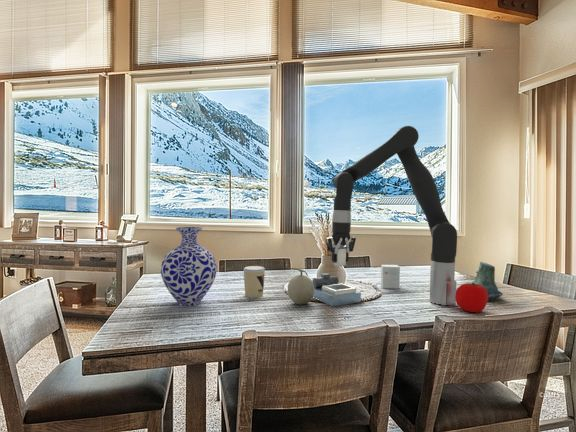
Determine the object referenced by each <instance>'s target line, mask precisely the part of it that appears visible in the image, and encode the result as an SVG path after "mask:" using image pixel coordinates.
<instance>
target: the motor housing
mask: <svg viewBox="0 0 576 432" xmlns="http://www.w3.org/2000/svg"><path fill="white" fill-rule="evenodd" d="M311 281H312V283H313V286H314V294H313V297H315V298H317V299H319V300H321V301H320V302H322V303H324V304H325V305H328V306H330V307H336V306H345V305H351V304H358V303H361V300H362V294H361V292H360V291H358V290H357V287H354V286H352V285H348V284H345V283H339V282H340V281H339V278H338V276H336V275H331V274H330V273H327V272H326V273H321V274H320V277H314V278H313V279H312V280H311ZM313 297H312V298H313ZM315 298H314V299H315ZM317 299H316V300H317ZM319 300H318V301H319Z"/></svg>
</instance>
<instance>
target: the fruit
mask: <svg viewBox="0 0 576 432" xmlns="http://www.w3.org/2000/svg"><path fill="white" fill-rule="evenodd" d="M285 269H290V270H295V271H299V272H300V274H298V275H295V276H293V277H291V278H290V280H289V281H288V284H287V294H288V297H289V299H290V300H291V302H293V303H294V304H296V305H306V304H309V303H310V302H311V301H312V300H313V294H314V286H313V283H312V281H313V280H312V279H311V278H310V277H308V275H309V274H308V273H307V271H305V270H303V269H299V268H295V267H287V266H286V267H285ZM303 273H305V275H303Z"/></svg>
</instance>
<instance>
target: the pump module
mask: <svg viewBox="0 0 576 432" xmlns="http://www.w3.org/2000/svg"><path fill="white" fill-rule="evenodd" d="M336 254H337V263H334V262H333V265H334V267H335V266H336V267H346V264H347V262H346V248H344V246H340V247H339V249H338V251H337V253H336Z"/></svg>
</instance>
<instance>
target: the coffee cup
mask: <svg viewBox="0 0 576 432" xmlns="http://www.w3.org/2000/svg"><path fill="white" fill-rule="evenodd" d="M265 271H266V268H265V267H264V266H260V265H251V266H245V267H244V268H243V283H244V294H245V295H244V296H245V297H247V298H260V297H263V296H264V289H265V288H264V286H265Z"/></svg>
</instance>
